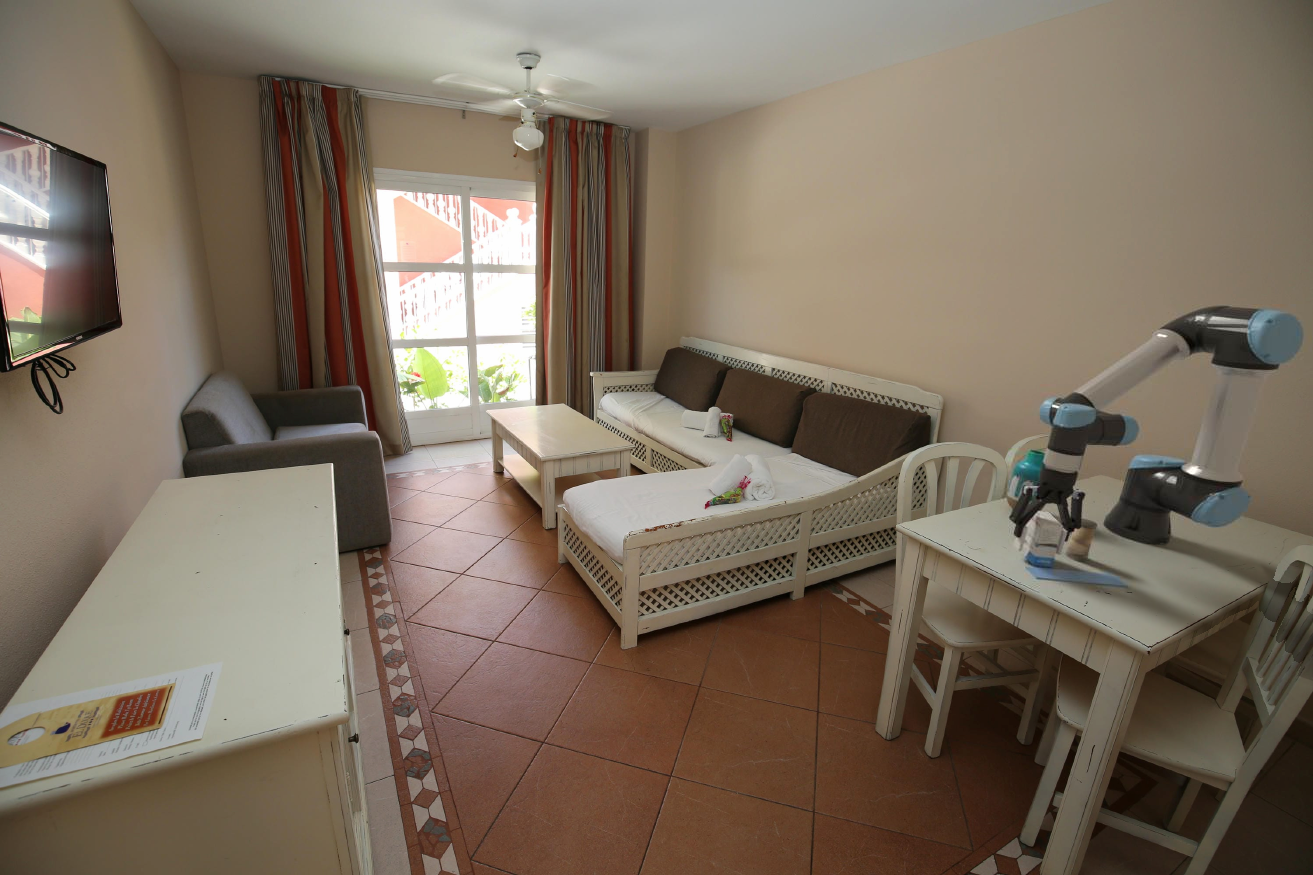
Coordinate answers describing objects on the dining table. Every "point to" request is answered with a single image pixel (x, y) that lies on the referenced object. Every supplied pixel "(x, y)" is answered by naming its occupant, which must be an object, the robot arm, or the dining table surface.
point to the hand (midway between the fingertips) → (1036, 550)
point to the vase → (1025, 476)
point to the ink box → (1042, 539)
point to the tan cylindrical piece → (1081, 541)
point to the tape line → (1076, 576)
